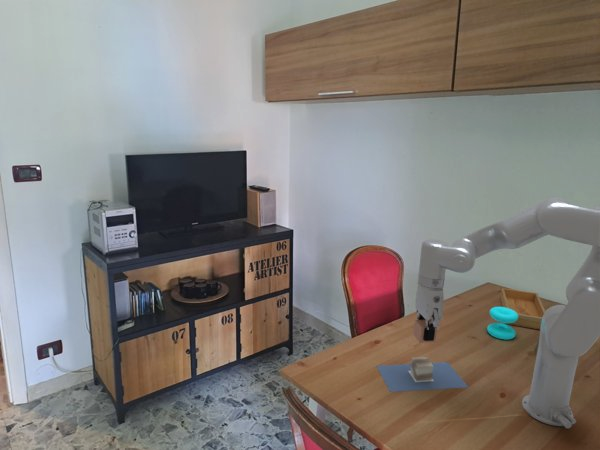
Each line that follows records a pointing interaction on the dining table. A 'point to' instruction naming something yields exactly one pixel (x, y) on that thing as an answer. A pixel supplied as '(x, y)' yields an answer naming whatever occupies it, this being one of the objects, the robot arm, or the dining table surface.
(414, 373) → the cream block
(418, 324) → the terracotta block
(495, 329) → the donuts
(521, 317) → the tray
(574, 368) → the robot arm
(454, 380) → the board
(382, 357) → the dining table surface
